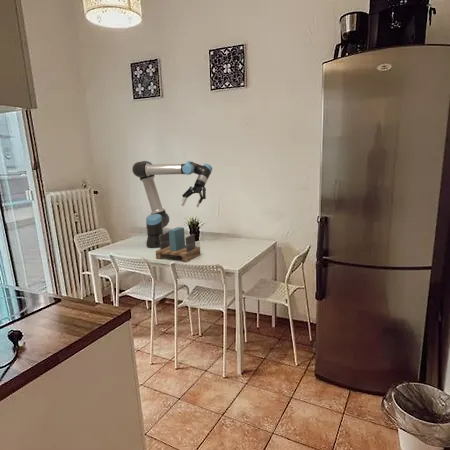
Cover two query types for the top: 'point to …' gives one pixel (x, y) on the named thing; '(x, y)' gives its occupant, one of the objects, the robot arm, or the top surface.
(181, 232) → the book
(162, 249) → the shelf
